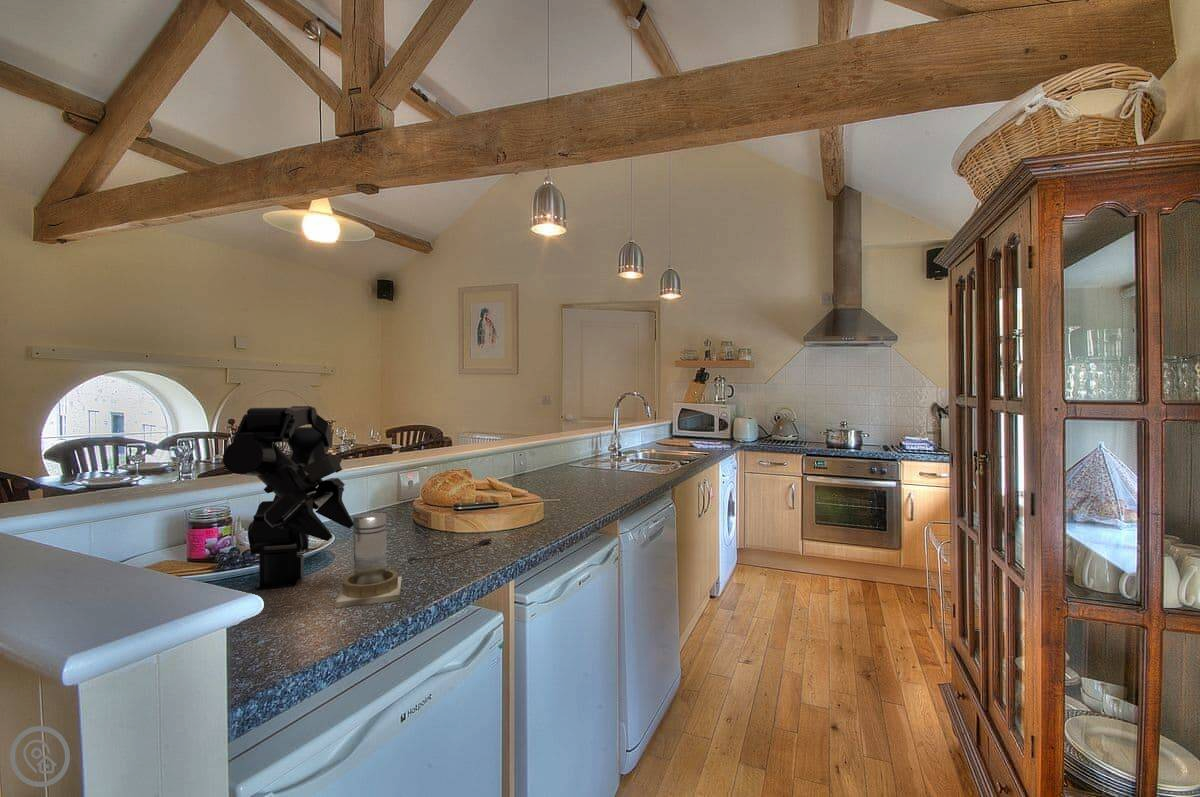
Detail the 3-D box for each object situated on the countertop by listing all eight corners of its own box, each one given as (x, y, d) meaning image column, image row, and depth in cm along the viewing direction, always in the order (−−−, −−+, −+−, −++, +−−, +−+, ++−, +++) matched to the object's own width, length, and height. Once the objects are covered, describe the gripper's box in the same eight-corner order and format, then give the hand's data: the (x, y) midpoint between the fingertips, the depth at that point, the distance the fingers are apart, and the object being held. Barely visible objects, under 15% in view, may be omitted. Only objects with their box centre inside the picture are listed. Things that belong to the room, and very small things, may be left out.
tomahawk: (422, 573, 109) (422, 567, 109) (407, 563, 114) (407, 558, 114) (504, 549, 125) (504, 544, 125) (487, 541, 129) (487, 537, 129)
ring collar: (335, 608, 88) (335, 590, 88) (344, 587, 98) (344, 571, 98) (399, 600, 92) (399, 583, 92) (401, 581, 101) (401, 565, 101)
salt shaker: (351, 595, 91) (351, 520, 91) (355, 584, 96) (355, 514, 96) (385, 591, 93) (385, 518, 93) (387, 581, 98) (387, 512, 98)
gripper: (283, 443, 85) (353, 510, 86) (334, 437, 104) (391, 491, 105) (233, 492, 85) (303, 559, 85) (292, 477, 103) (350, 532, 104)
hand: (341, 532), depth 95 cm, fingers open, 9 cm apart
